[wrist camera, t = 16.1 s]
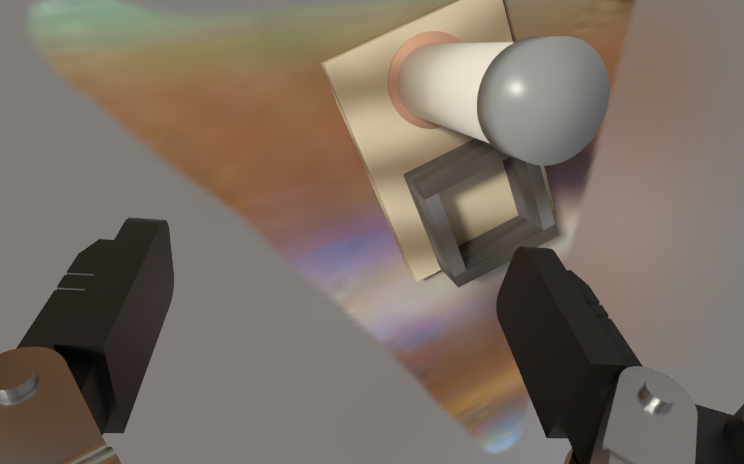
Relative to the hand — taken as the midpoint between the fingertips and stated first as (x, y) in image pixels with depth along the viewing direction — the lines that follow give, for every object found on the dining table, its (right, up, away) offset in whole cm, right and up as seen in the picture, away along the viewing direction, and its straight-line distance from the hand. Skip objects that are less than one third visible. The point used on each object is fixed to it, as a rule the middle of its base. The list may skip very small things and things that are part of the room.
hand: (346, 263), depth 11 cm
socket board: (+6, +8, +26) cm, 28 cm away
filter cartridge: (+5, +11, +22) cm, 25 cm away
